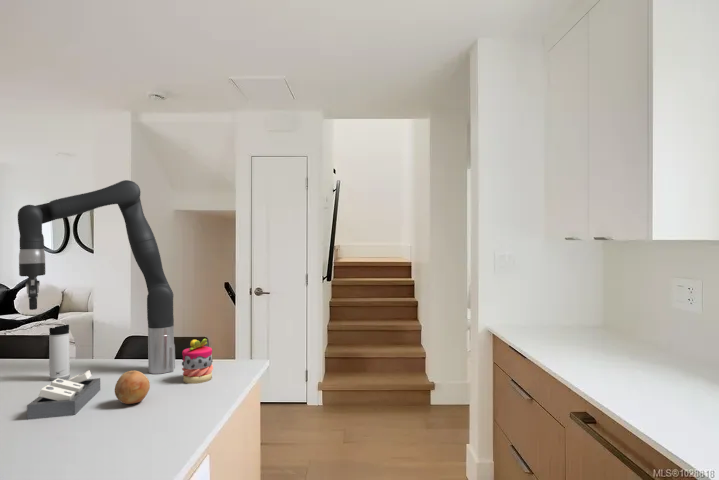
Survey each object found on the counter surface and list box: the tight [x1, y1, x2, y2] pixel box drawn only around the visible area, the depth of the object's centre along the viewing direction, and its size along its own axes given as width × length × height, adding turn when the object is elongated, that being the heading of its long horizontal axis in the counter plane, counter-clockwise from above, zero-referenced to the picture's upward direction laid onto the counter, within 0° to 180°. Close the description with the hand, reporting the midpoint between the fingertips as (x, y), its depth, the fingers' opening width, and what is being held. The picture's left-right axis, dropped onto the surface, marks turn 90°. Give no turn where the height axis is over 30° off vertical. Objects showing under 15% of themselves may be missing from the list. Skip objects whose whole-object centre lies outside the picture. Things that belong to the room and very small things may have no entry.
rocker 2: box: [65, 369, 93, 383], centre depth 150 cm, size 8×4×2 cm, turn 105°
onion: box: [114, 370, 151, 405], centre depth 141 cm, size 10×10×10 cm
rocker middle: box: [49, 378, 84, 392], centre depth 142 cm, size 8×4×2 cm, turn 104°
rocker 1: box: [38, 384, 76, 401], centre depth 135 cm, size 8×4×2 cm, turn 104°
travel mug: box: [48, 324, 71, 382], centre depth 170 cm, size 6×7×20 cm
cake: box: [181, 338, 214, 385], centre depth 166 cm, size 10×11×15 cm
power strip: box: [26, 377, 101, 420], centre depth 146 cm, size 12×33×4 cm, turn 14°
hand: (33, 308), depth 161 cm, fingers open, 8 cm apart
